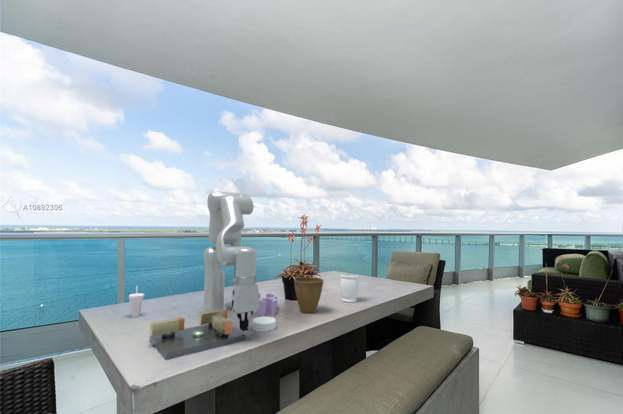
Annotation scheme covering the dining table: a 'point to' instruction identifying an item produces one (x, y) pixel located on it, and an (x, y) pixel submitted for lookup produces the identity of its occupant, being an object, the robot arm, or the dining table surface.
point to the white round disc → (263, 324)
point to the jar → (349, 287)
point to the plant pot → (308, 293)
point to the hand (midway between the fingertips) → (243, 329)
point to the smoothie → (136, 303)
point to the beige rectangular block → (210, 316)
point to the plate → (193, 341)
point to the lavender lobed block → (268, 304)
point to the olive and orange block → (167, 327)
